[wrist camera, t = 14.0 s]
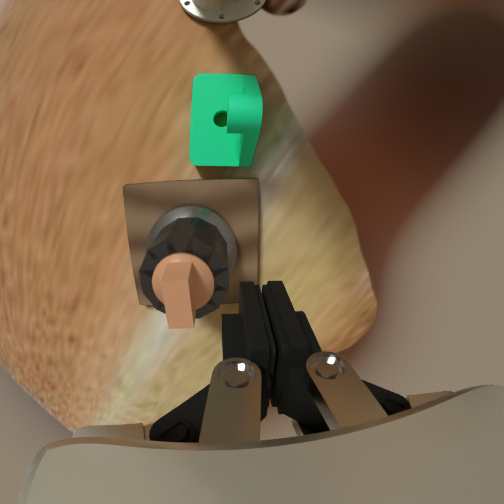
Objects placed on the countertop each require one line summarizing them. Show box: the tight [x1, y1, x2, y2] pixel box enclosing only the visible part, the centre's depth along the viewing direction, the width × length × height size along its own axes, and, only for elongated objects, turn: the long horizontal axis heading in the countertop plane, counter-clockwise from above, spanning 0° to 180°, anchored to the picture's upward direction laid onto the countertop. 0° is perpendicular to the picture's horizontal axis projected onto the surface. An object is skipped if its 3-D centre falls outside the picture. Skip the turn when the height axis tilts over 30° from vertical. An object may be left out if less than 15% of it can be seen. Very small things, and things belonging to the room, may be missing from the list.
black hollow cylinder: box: [139, 204, 237, 318], centre depth 33 cm, size 12×12×10 cm
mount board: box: [123, 178, 259, 305], centre depth 38 cm, size 18×18×2 cm
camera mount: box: [190, 74, 263, 167], centre depth 29 cm, size 12×8×10 cm, turn 177°
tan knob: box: [152, 252, 214, 329], centre depth 28 cm, size 6×6×9 cm
